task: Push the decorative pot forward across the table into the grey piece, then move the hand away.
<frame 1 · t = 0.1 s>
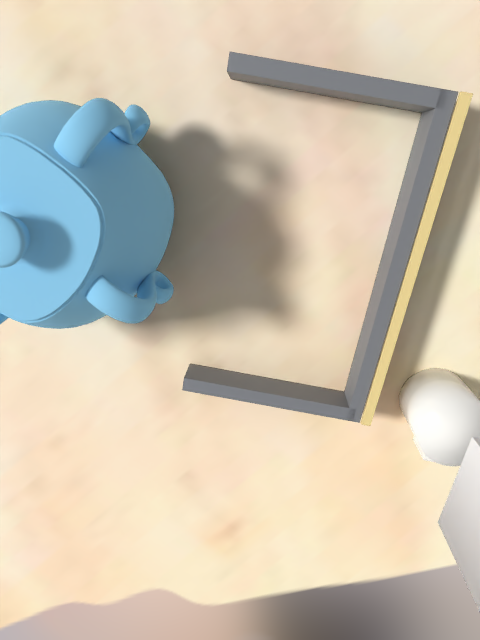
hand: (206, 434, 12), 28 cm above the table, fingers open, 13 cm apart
grey piece: (296, 252, 38), on the table
white rounded cylinder: (432, 397, 41), on the table
decorative pot: (88, 214, 38), on the table
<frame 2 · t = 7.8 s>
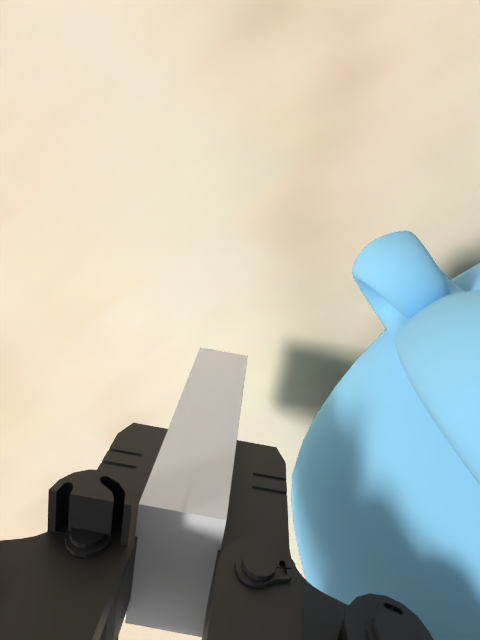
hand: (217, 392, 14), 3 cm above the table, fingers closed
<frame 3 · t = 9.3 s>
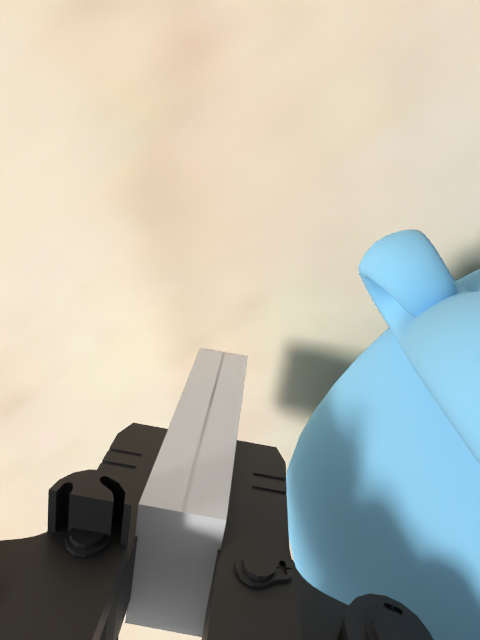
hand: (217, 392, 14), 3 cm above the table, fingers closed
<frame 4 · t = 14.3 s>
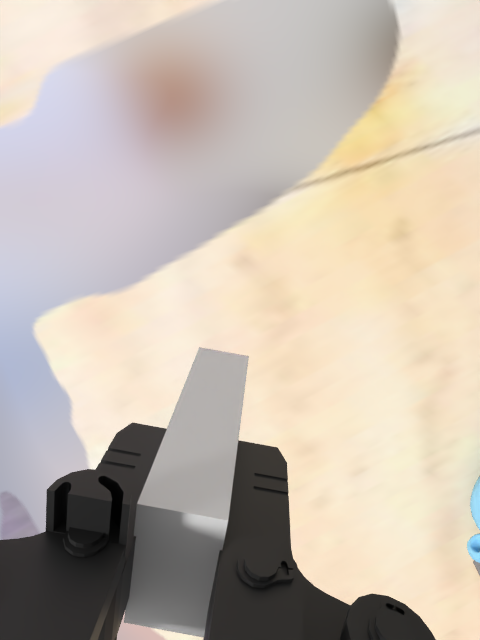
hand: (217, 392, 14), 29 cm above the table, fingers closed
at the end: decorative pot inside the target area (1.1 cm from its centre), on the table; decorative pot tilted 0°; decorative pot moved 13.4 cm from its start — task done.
